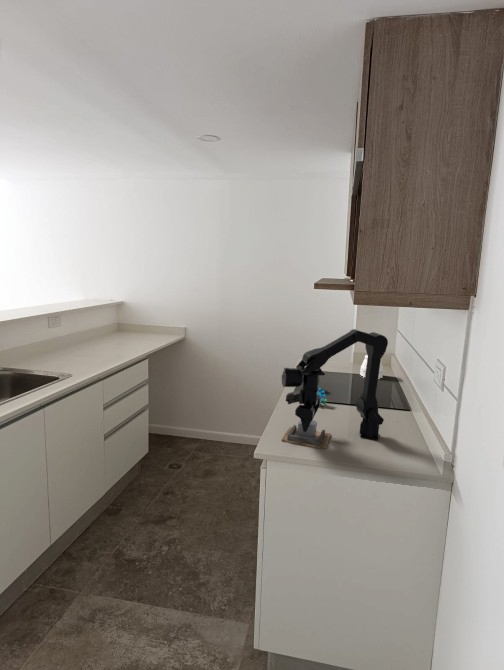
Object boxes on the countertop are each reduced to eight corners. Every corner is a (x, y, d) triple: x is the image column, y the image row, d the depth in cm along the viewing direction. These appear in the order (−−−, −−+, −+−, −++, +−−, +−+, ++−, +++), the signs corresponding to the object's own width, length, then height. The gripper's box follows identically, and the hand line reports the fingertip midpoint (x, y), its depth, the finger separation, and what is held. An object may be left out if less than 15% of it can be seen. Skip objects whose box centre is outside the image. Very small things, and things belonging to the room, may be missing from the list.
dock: (330, 435, 161) (331, 429, 160) (325, 448, 148) (326, 442, 148) (289, 428, 165) (290, 422, 165) (281, 441, 153) (281, 434, 153)
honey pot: (383, 380, 241) (386, 349, 238) (360, 377, 244) (362, 347, 241) (381, 374, 254) (384, 345, 250) (359, 372, 256) (362, 343, 253)
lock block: (315, 435, 158) (316, 421, 157) (313, 440, 154) (314, 426, 153) (300, 432, 160) (301, 418, 159) (297, 437, 155) (298, 423, 155)
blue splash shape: (299, 400, 195) (311, 383, 198) (303, 406, 199) (314, 389, 202) (319, 409, 188) (331, 391, 191) (323, 415, 192) (334, 398, 195)
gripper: (294, 377, 165) (291, 415, 167) (282, 390, 147) (279, 432, 150) (322, 381, 161) (319, 419, 164) (314, 395, 144) (310, 438, 146)
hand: (307, 427), depth 156 cm, fingers open, 9 cm apart
